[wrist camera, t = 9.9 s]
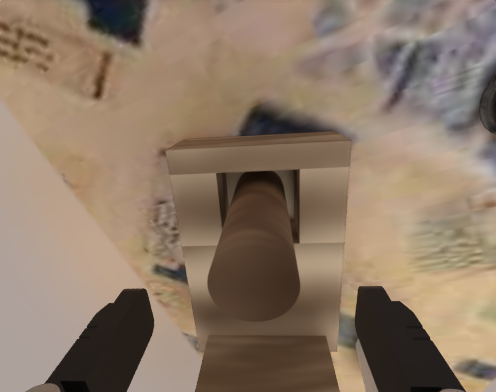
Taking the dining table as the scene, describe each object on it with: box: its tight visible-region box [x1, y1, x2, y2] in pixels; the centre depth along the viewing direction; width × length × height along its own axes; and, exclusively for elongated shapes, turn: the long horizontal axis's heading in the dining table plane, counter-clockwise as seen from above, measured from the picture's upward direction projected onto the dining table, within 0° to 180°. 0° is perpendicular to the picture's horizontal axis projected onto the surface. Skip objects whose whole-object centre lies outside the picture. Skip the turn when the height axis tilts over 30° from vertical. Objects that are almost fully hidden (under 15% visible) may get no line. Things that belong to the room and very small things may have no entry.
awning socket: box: [165, 131, 351, 392], centre depth 18 cm, size 18×13×16 cm
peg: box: [207, 170, 300, 322], centre depth 17 cm, size 4×4×12 cm
